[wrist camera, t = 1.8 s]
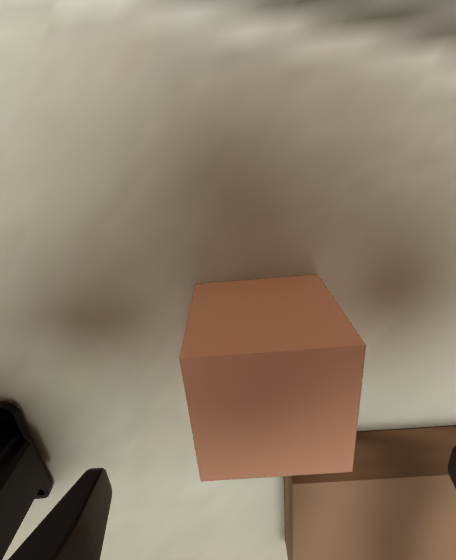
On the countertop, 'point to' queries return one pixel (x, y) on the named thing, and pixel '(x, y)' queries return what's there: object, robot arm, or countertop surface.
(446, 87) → the countertop surface
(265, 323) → the cube
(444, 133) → the countertop surface
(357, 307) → the countertop surface
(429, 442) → the brown block
